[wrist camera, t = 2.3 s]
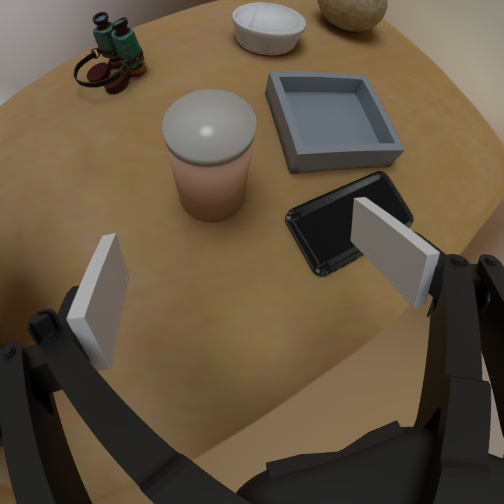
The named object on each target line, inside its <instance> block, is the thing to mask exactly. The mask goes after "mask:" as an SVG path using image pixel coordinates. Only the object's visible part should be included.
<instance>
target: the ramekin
mask: <svg viewBox="0 0 504 504" xmlns="http://www.w3.org/2000/svg"><path fill="white" fill-rule="evenodd" d="M232 22H233V24H234V28H235V35H236V39H237V41H238V42H239V44H240V45H241V46H242V47H243V48H245V49H246V50H248V51H250V52H253V53H256V54H261V55H269V56H274V55H281V54H284V53H287V52H289V51H290V50H292V49H293V48H294V47H295V45H296V44H297V42H298V40H299V38H300V36H301V34H302V33H303V32H304V31H305V28H306V22H305V19H304V18H303V16H302V15H300V14H299V13H298V12H296V11H294V10H292V9H290V8H288V7H285V6H282V5H278V4H272V3H251V4H246V5H243V6H241V7H239V8H237V9H236V10H235V11H234V12H233V14H232Z"/></svg>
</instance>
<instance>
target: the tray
mask: <svg viewBox="0 0 504 504" xmlns="http://www.w3.org/2000/svg"><path fill="white" fill-rule="evenodd" d="M265 94H266V97H267V100H268V103H269V106H270V109H271V113H272V116H273V119H274V122H275V125H276V129H277V132H278V135H279V138H280V142H281V145H282V148H283V152H284V155H285V158H286V162H287V165H288V169H289V172H290V173H299V172H310V171H321V170H333V169H347V168H362V167H381V166H391V164H392V163H393V162H394V161H395V160H396V159H397V158H398V157H399V156H400V155H401V154H402V152H403V151H404V148H403V146H402V144H401V142H400V139H399V137H398V135H397V133H396V131H395V129H394V127H393V125H392V123H391V121H390V119H389V117H388V115H387V113H386V111H385V109H384V107H383V105H382V104H381V102H380V100H379V98H378V96H377V94H376V93H375V91H374V89H373V87H372V85H371V84H370V82H369V80H368V79H367V77H366V75H357V74H344V73H327V72H269V76H268V81H267V86H266V91H265Z"/></svg>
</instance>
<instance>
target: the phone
mask: <svg viewBox="0 0 504 504" xmlns="http://www.w3.org/2000/svg"><path fill="white" fill-rule="evenodd" d="M361 197H366V198H367V199H369V200H370V201H372V202H373V203H374V204H376V205H377V206H379V207H380V208H382V209H383V210H384V211H386V212H387V213H389V214H390V215H391V216H393V217H394V218H395V219H397V220H398V221H400V222H401V223H402V224H404V225H405V226H406V227H409V226H411V225H412V223H413V216H412V213H411V212H410V210H409V208H408V207H407V205H406V203H405V202H404V200H403V198H402V197H401V195H400V193H399V192H398V190H397V189H396V187H395V186H394V184H393V182H392V181H391V179H390V178H389V176H388V175H387V174H386V173H385V172H382V171H377V172H375V173H372V174H370V175H368V176H365V177H363V178H361V179H358V180H356V181H354V182H351V183H349V184H347V185H344V186H342V187H340V188H338V189H335V190H333V191H331V192H328V193H326V194H324V195H321V196H319V197H317V198H315V199H312V200H310V201H308V202H306V203H303V204H301V205H299V206H297V207H294V208H292V209H291V210H289V211H288V213H287V215H286V217H285V222H286V225H287V226H288V228H289V230H290V232H291V234H292V235H293V237H294V239H295V241H296V243H297V244H298V246H299V248H300V250H301V252H302V253H303V255H304V257H305V259H306V261H307V262H308V264H309V266H310V268H311V270H312V271H313V272H314V273H315V274H316V275H318V276H324V275H327V274H329V273H330V272H332V271H336V270H337V269H338V268H339V267H341V266H342V267H343V266H345V265H346V264H348V263H349V262H350V261H351V262H352V261H354V260H356V259H357V257H359V256H360V255H362V254H363V253H362V252H361V251H360V250H359V249H358V248H357V247H356V246H355V245H354V244H353V243H352V242H351V231H352V219H353V205H354V198H361Z"/></svg>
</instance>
